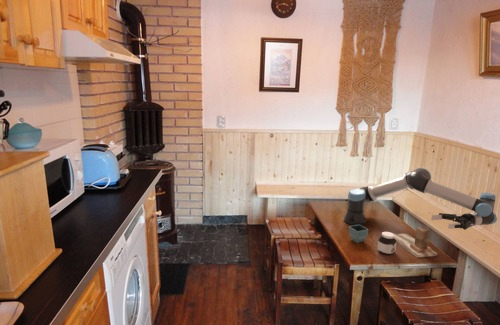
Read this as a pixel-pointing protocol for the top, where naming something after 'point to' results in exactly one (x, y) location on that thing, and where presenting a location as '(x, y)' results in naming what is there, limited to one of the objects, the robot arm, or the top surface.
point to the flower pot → (358, 233)
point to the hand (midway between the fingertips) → (440, 221)
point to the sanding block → (421, 240)
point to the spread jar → (387, 243)
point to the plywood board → (407, 240)
